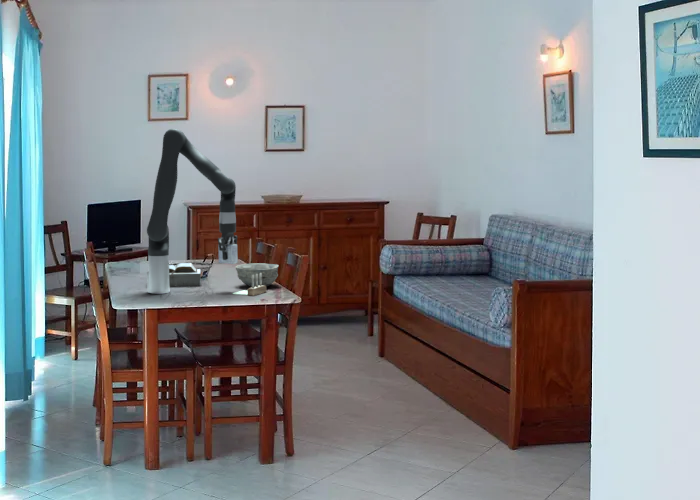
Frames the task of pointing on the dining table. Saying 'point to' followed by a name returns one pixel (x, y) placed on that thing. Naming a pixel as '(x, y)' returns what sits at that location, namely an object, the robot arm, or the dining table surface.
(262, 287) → the pin strip
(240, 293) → the pad
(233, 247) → the medicine box
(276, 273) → the bowl
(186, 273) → the grey rectangular bin
